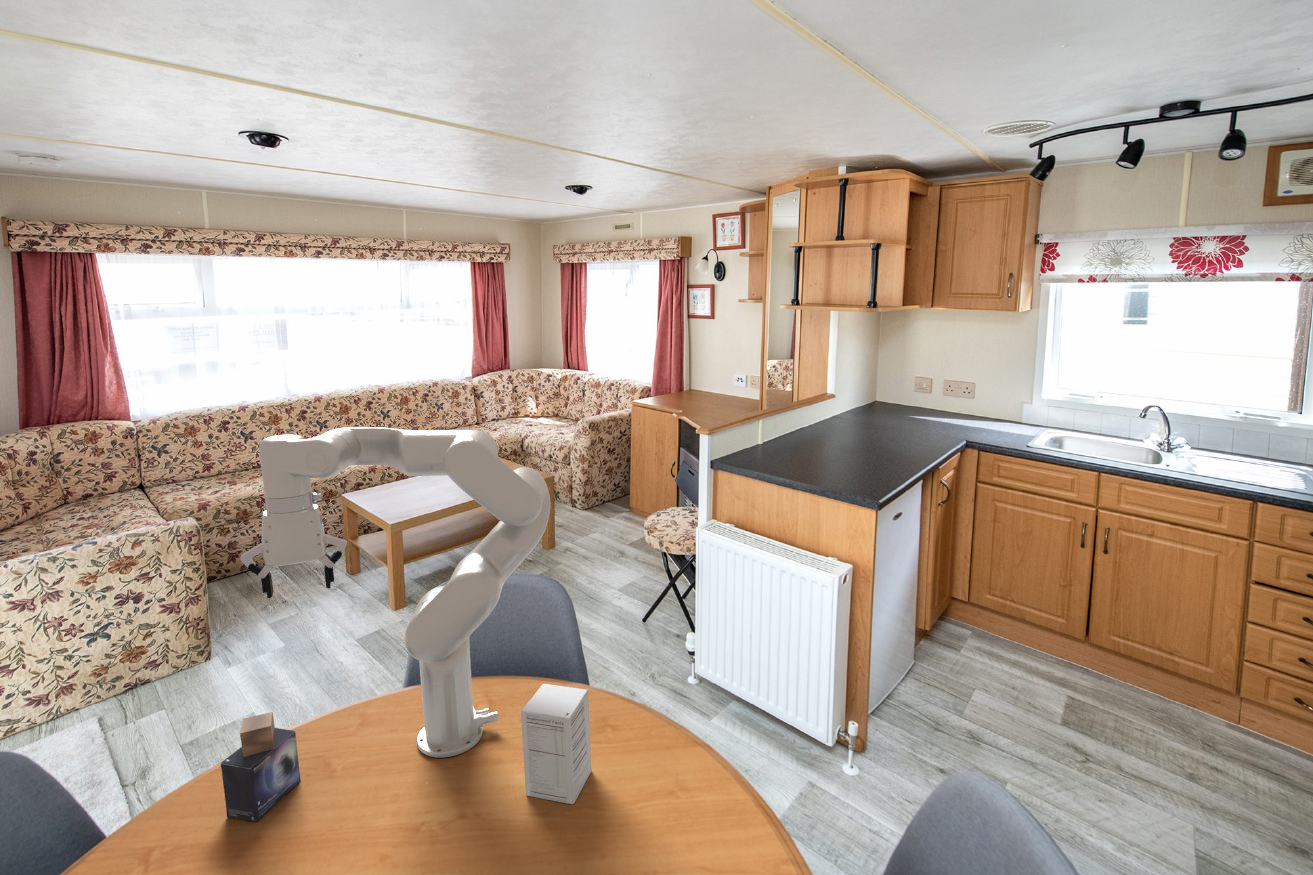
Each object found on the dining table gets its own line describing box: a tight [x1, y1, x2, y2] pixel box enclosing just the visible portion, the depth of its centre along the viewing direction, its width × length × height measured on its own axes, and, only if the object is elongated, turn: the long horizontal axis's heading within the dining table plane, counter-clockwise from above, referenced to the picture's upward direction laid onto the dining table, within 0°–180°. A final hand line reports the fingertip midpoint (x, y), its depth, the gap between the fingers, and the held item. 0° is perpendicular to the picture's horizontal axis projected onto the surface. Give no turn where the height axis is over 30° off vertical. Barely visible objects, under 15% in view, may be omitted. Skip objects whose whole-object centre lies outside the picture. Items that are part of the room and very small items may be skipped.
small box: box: [220, 727, 301, 823], centre depth 114 cm, size 11×6×10 cm, turn 169°
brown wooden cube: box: [239, 711, 276, 757], centre depth 113 cm, size 4×4×4 cm
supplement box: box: [520, 683, 592, 805], centre depth 117 cm, size 10×9×17 cm
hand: (300, 590), depth 122 cm, fingers open, 9 cm apart
